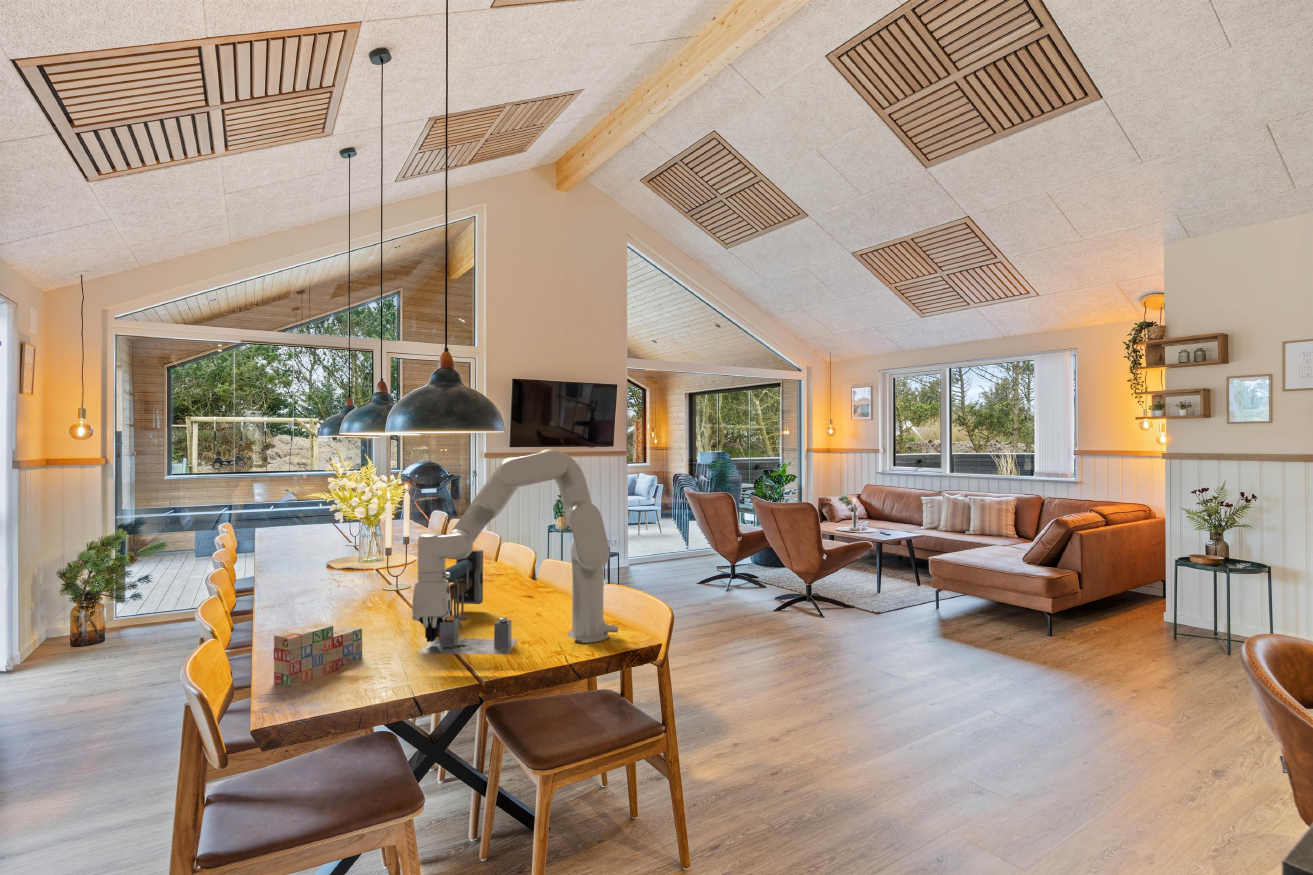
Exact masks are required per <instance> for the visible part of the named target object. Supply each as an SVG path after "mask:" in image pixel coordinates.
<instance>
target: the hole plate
mask: <svg viewBox="0 0 1313 875" xmlns="http://www.w3.org/2000/svg"><path fill="white" fill-rule="evenodd" d="M518 641H519V638H511V645H510V647H509V648H494V638H458V644H457V645H456V646H455V647H440V638H436V639H435V640H434V641H433V642H431V641H429V642H428V644H427V645H425V646H424V647H423V648H422V649H421V650H420V651H419V652H418V653H417V654H419V655H429V654H431V655H509V653H510V652H511V651H512V649H513V648H514V646H515V645H516V644H517V642H518Z"/></svg>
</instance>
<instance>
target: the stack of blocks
mask: <svg viewBox="0 0 1313 875" xmlns="http://www.w3.org/2000/svg"><path fill="white" fill-rule="evenodd" d="M361 658H363V629H362V628H361V627H355V626H349V625H344V626H341V627H338V628H334V625H331V624H325V623H319V622H316V623H312V624H308V625H305V626H301V627H298V628H295V629H292V630H291V629H290V630H288V631H285V632H281V633H277V634H274V635H273V684H275V683H278V684H277V685H279V684H282V685H281V686H284V685H286V686H285V687H287V686H289V687H288V688H291V687H290V686H292V687H295V686H297V684H298V685H300V684H303V683H306V682H309V681H312V680H315V679H317V678H321V677H323V676H326V675H329V674H331V673H334V671H335V672H338V671H340V670H339V669H341V668H342V667H344V666H345V665H346V664H348V663H351V662H353V661H357V660H358V659H361ZM294 685H295V686H294Z"/></svg>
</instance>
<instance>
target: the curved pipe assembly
mask: <svg viewBox="0 0 1313 875" xmlns="http://www.w3.org/2000/svg"><path fill="white" fill-rule="evenodd" d="M455 562H456V563H455V564H453V565H452V566H449V567H448V568H445V570H446V572H448V573H450V577H447V578H446V579H445V580H448V582H449V587H450V594H451V612H450V616H454V619H458V628H460V627H461V626H462V627H463V625H462V623H461V622H462V621H465V620H466V619H467V616H466V615H464V608H465V607H464V605H481V604H482V603H484V595H483V594H484V550H483V549H472V552H471V553H470V555H469V556H468V557H466V558H464V559H455ZM460 604H461V608H460ZM460 609H461V611H460ZM430 619H431V625H432V622H433V617H430ZM464 619H465V620H464ZM462 627H461V628H462ZM437 634H440V624H439V625H438V631H437Z"/></svg>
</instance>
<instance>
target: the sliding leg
mask: <svg viewBox="0 0 1313 875" xmlns="http://www.w3.org/2000/svg"><path fill="white" fill-rule="evenodd" d="M439 635H440V636H439V639H440V647H455V646H456V645H457V644H458V639H459V627H458V619H454V616H451V617H449V618H445V621H441V622H440V633H439Z"/></svg>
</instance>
